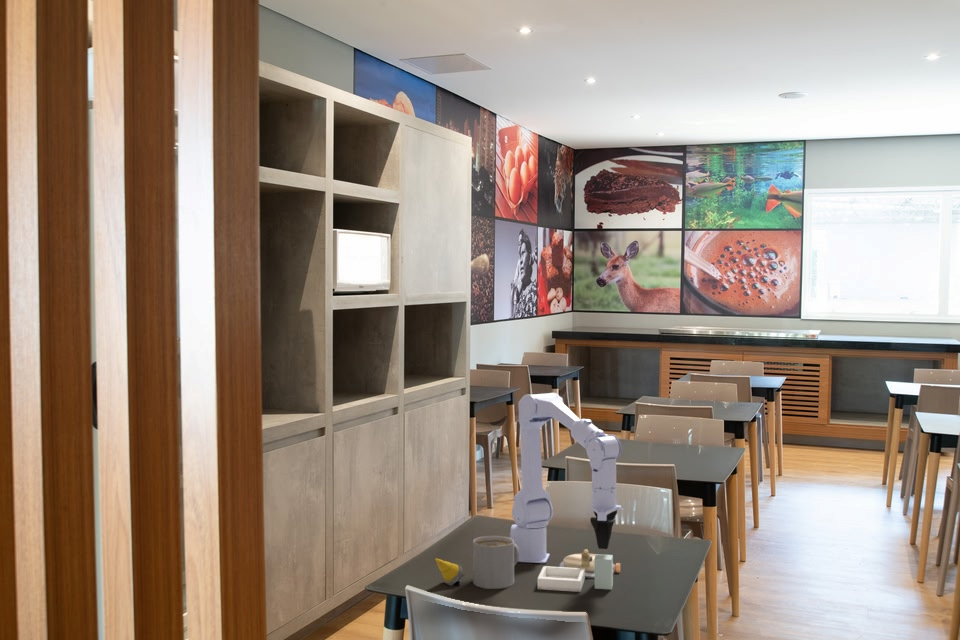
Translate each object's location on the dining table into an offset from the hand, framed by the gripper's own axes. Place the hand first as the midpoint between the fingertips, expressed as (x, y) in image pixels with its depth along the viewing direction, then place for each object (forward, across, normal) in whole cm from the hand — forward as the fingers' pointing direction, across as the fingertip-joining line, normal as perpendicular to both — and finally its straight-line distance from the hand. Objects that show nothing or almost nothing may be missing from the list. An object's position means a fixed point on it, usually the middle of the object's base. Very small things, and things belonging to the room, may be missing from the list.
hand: (604, 544), depth 207 cm
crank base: (+10, +12, +5) cm, 17 cm away
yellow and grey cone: (+10, -6, +36) cm, 38 cm away
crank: (+9, +12, +5) cm, 16 cm away
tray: (+10, 0, +10) cm, 14 cm away
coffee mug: (+10, -1, +25) cm, 27 cm away
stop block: (+10, 0, 0) cm, 10 cm away
